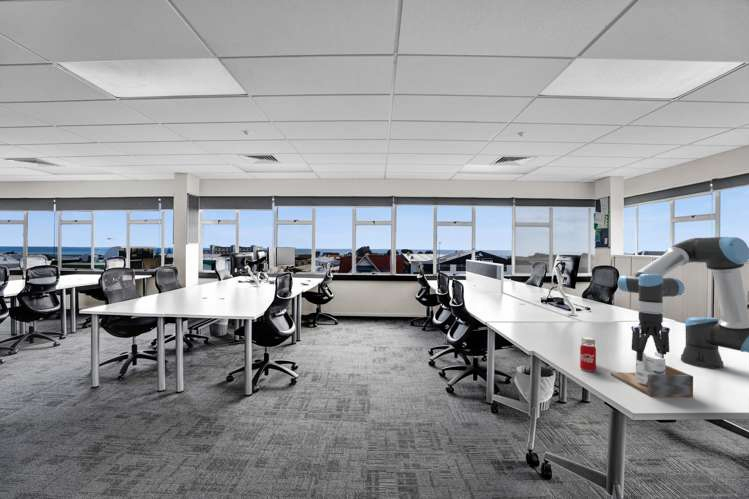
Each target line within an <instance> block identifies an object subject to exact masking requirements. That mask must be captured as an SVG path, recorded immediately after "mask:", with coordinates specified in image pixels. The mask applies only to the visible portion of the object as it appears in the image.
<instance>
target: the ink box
mask: <svg viewBox="0 0 749 499" xmlns="http://www.w3.org/2000/svg"><path fill="white" fill-rule="evenodd" d="M644 354H646V370H642V369H640V368H638V363H639V361H638V360H637V352H635V373H636V381H637V382H639V383H642V384H644V385H647V386H648V374H661V375H665V365H666V358H664V359H663V358H660V357H657V356H655V355H653V354H650V353H646V352H644Z"/></svg>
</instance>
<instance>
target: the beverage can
mask: <svg viewBox="0 0 749 499" xmlns="http://www.w3.org/2000/svg"><path fill="white" fill-rule="evenodd" d="M579 350H580V351H579V367H580V369H582V371H585V372H590V373H591V372H595V371H596V370H597V348H596V344H595V345H593V344H590V343H582V342H581V345H580V346H579Z"/></svg>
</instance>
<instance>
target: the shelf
mask: <svg viewBox="0 0 749 499" xmlns="http://www.w3.org/2000/svg"><path fill="white" fill-rule="evenodd" d="M610 376H612V377H613V378H616V379H617V380H618V381H619V380H620V382H623V383H625V384H626V385H628V386H630V387H632V388H633V389H635V390H637V391H638V392H640V393H642V394H645V395H646V396H648V397H650V398H651V397H653V398H657V397H658V398H685V399H687V398H692V399H693V398H694V375H691V374H689V373H687V372H684V371H682V370H679V369H676V368H674V367H672V366H669V365H666V364H665V375H661V374H648V386H647V385H644V384H642V383H639V382H637V381H636V372H613V371H611V372H610Z"/></svg>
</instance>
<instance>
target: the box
mask: <svg viewBox="0 0 749 499" xmlns="http://www.w3.org/2000/svg"><path fill="white" fill-rule="evenodd" d="M582 343H590V344H593V345H595V346H596V339H594V338H592V337H591V336H589V337H587V336H586V337H585V336H581V344H582Z"/></svg>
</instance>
